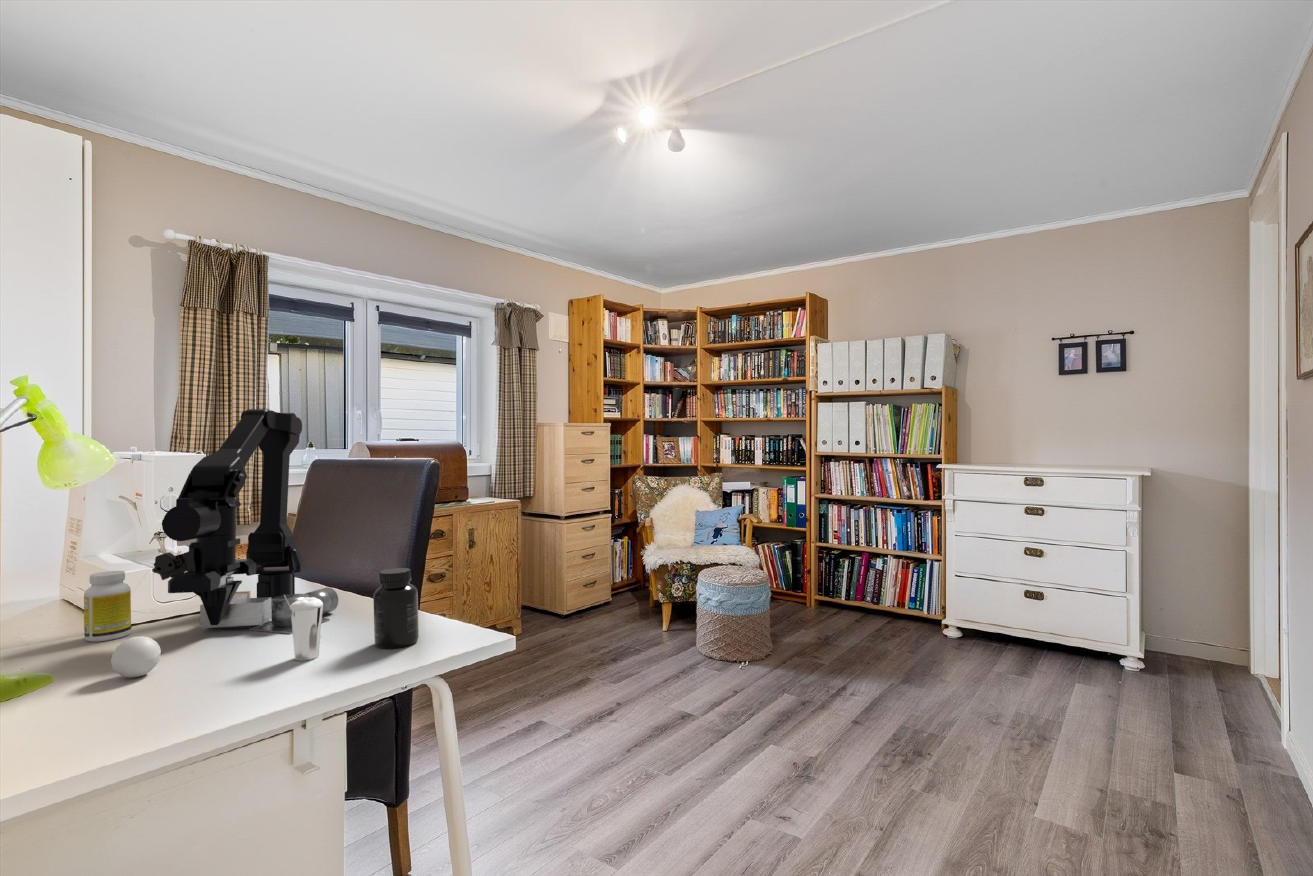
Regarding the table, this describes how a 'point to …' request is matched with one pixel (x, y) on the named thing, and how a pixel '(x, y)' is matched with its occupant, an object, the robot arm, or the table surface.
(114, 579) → the pill bottle
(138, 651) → the white egg
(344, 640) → the table surface
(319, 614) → the milkshake
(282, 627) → the duct stub
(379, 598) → the supplement bottle
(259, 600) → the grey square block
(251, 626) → the alignment strip
